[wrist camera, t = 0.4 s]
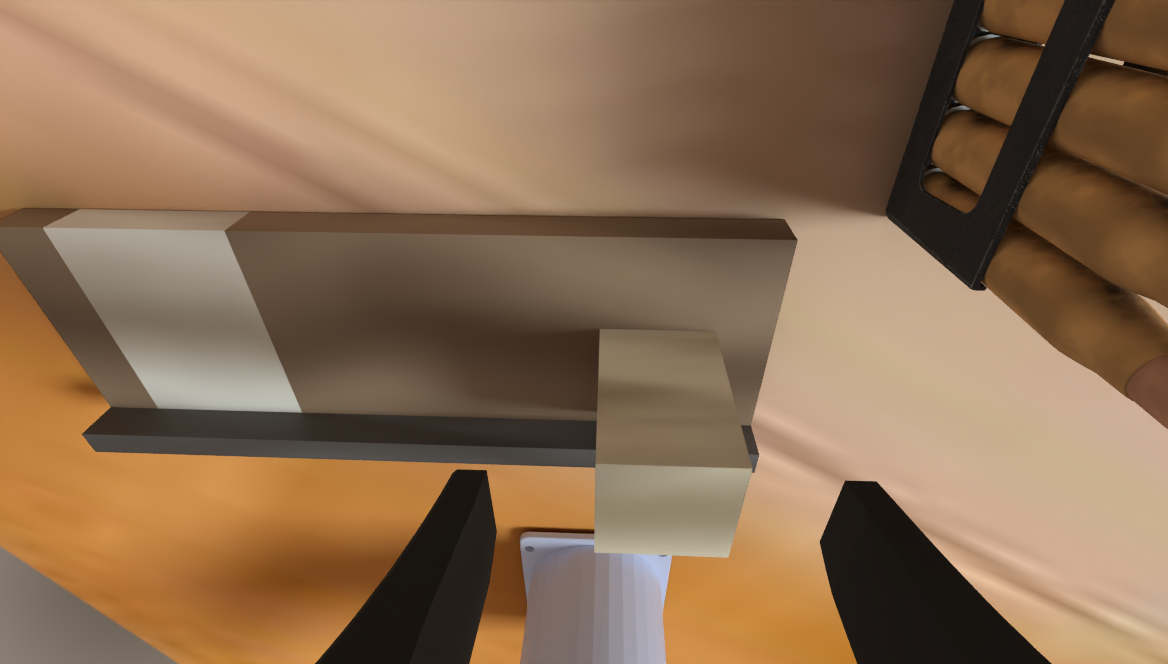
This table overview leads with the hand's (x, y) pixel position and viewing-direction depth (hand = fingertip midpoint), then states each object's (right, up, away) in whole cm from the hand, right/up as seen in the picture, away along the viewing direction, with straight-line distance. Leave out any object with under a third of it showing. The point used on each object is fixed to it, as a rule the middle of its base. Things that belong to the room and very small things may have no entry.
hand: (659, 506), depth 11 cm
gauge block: (+1, +2, +9) cm, 9 cm away
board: (-8, +4, +10) cm, 13 cm away
